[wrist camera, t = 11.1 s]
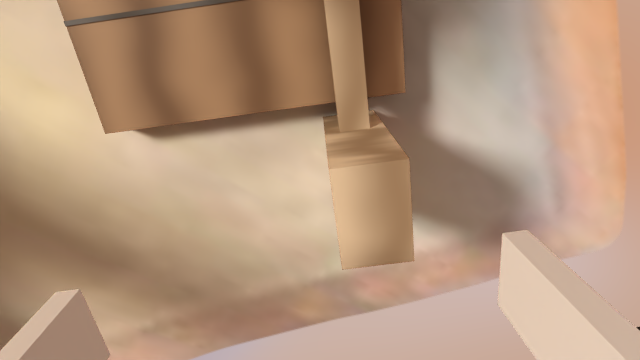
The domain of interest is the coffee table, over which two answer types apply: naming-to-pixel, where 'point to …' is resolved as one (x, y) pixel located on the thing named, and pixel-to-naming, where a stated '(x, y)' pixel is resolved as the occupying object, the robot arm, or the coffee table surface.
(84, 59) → the walnut board
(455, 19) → the coffee table surface
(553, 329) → the robot arm
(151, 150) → the coffee table surface
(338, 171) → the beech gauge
